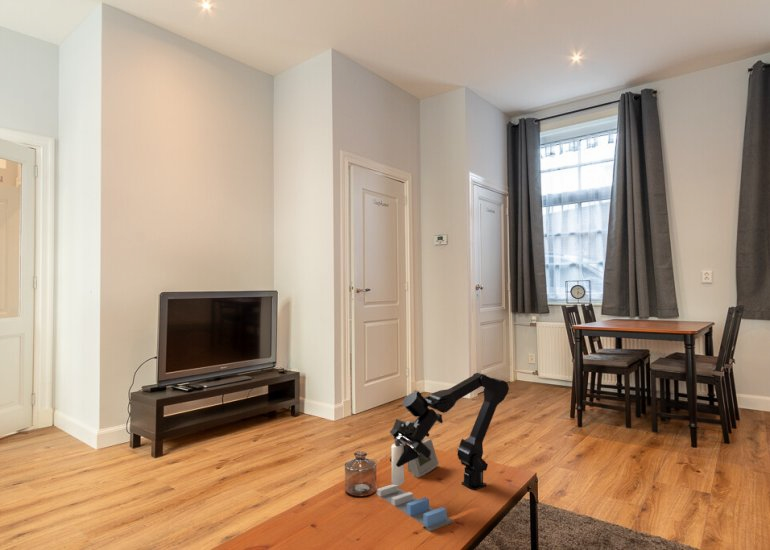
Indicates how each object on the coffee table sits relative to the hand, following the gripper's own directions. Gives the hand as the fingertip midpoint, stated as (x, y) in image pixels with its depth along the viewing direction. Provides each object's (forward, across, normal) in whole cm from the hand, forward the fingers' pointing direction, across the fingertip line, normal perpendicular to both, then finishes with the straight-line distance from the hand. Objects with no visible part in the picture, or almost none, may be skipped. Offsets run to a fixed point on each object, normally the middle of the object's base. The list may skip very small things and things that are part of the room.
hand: (393, 463), depth 153 cm
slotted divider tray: (+7, +5, +12) cm, 14 cm away
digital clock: (-6, -18, +25) cm, 32 cm away
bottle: (+4, 0, +5) cm, 6 cm away
